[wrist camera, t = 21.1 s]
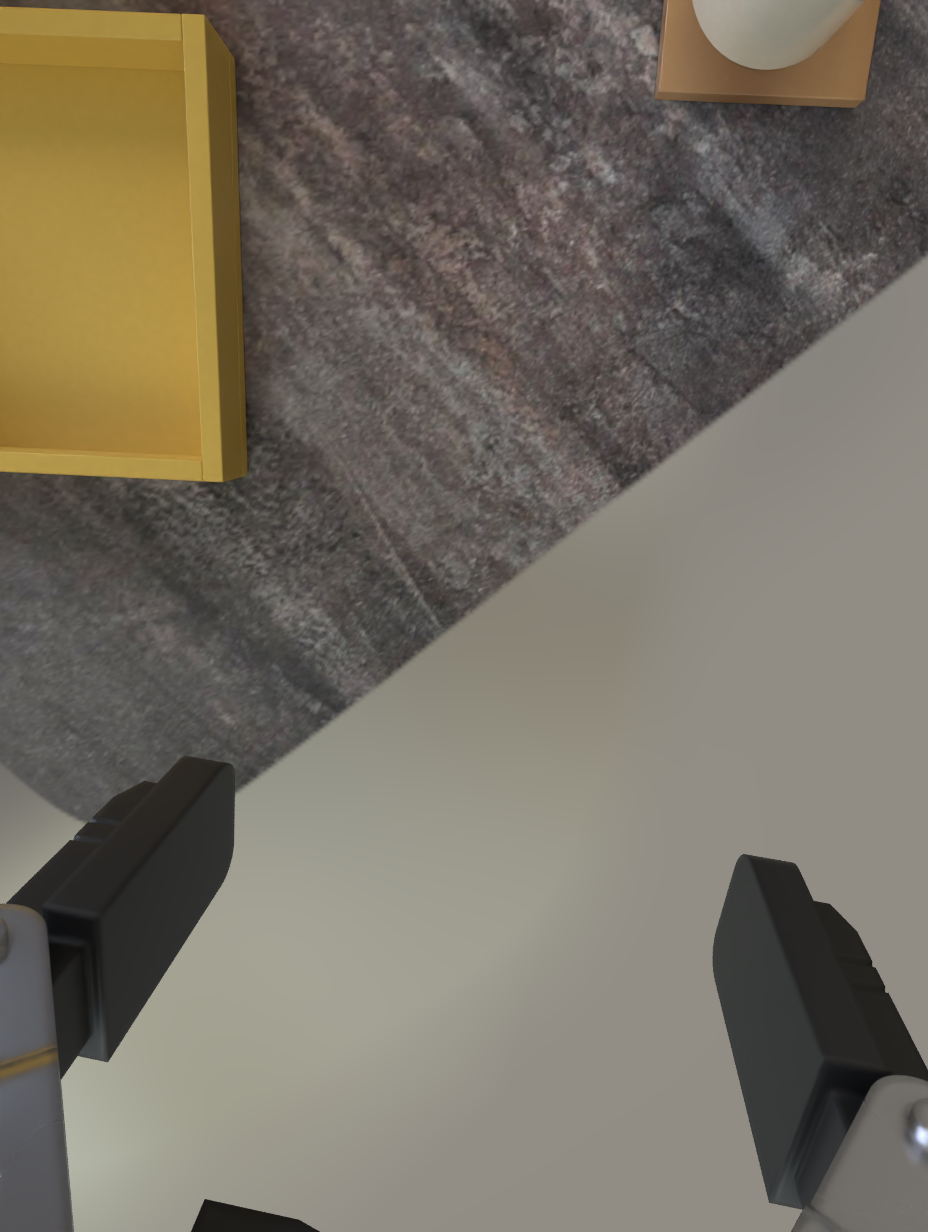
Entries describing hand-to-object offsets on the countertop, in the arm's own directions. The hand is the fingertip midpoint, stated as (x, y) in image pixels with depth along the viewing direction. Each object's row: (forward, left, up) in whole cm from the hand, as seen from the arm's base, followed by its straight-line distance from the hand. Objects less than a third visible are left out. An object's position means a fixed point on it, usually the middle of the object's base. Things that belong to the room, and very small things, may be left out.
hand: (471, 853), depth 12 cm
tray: (+19, -11, -22) cm, 31 cm away
